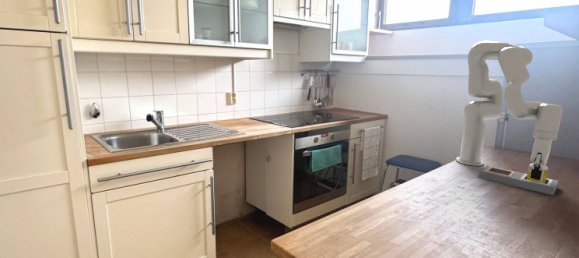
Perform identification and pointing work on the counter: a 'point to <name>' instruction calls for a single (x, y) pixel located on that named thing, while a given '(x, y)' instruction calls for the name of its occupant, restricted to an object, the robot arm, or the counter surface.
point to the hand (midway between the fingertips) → (536, 176)
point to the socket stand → (517, 179)
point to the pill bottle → (543, 174)
